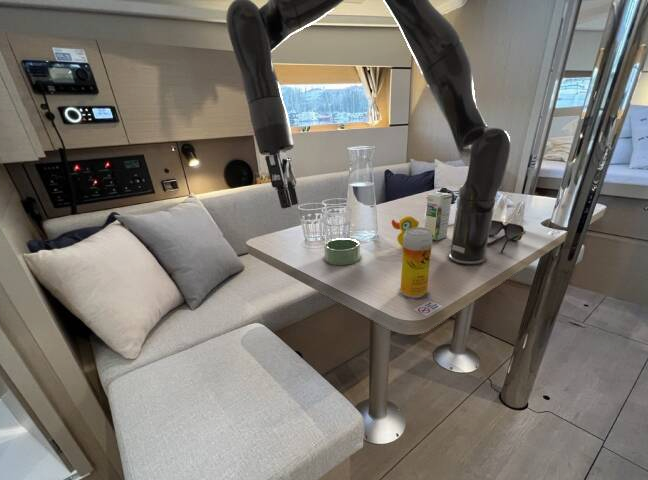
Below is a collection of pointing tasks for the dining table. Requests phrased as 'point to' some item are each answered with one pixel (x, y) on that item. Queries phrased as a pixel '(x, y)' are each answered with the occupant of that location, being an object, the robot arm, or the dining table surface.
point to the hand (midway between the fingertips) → (290, 206)
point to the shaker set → (501, 212)
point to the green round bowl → (342, 251)
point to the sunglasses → (507, 231)
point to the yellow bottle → (416, 261)
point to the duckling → (404, 226)
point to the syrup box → (438, 214)
